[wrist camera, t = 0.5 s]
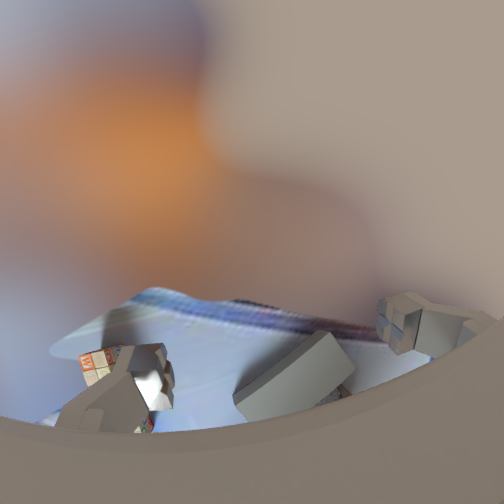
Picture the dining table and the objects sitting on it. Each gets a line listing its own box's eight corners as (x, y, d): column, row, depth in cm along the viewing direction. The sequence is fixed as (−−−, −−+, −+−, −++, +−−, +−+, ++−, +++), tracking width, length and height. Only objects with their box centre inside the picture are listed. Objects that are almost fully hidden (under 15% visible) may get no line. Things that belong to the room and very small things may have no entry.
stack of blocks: (155, 427, 52) (144, 450, 40) (132, 430, 51) (117, 453, 39) (123, 342, 55) (103, 350, 43) (100, 348, 54) (76, 355, 42)
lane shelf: (342, 363, 61) (356, 368, 54) (261, 427, 55) (267, 440, 48) (317, 329, 61) (329, 331, 54) (232, 395, 56) (234, 406, 49)
